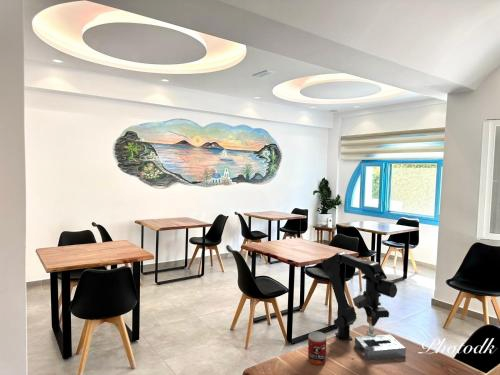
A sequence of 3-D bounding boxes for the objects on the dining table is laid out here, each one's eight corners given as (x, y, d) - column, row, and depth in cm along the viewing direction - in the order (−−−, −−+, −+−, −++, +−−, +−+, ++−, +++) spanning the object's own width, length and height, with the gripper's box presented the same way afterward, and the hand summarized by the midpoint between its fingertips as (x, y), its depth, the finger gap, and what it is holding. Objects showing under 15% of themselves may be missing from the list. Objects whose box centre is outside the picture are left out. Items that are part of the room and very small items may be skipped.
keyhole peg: (364, 332, 149) (365, 314, 149) (373, 332, 150) (373, 314, 149) (369, 337, 145) (369, 318, 145) (377, 336, 146) (378, 318, 145)
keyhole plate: (354, 345, 153) (355, 336, 153) (390, 342, 156) (390, 334, 155) (367, 360, 141) (367, 350, 141) (405, 356, 144) (405, 347, 144)
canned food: (307, 364, 138) (307, 339, 137) (308, 353, 146) (308, 330, 145) (325, 367, 136) (326, 341, 136) (326, 356, 144) (326, 332, 143)
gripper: (346, 283, 154) (345, 315, 155) (365, 299, 136) (364, 335, 137) (368, 282, 156) (367, 314, 157) (390, 298, 137) (389, 333, 138)
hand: (371, 324), depth 147 cm, fingers closed on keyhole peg, 3 cm apart
